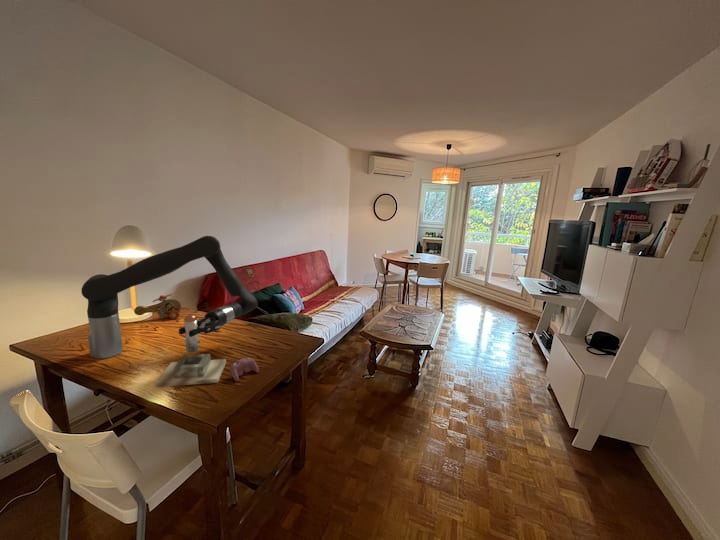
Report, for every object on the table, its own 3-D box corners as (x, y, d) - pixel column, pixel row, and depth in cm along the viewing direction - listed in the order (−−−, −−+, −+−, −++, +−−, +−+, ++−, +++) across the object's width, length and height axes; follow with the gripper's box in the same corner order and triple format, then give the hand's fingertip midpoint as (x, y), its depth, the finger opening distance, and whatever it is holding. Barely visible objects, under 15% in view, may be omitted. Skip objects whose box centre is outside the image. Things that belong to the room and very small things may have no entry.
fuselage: (184, 352, 104) (182, 317, 101) (188, 347, 108) (186, 313, 105) (196, 352, 105) (194, 316, 102) (200, 347, 109) (198, 312, 106)
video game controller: (254, 372, 115) (250, 355, 115) (260, 371, 112) (255, 354, 112) (231, 382, 107) (226, 364, 108) (236, 382, 104) (231, 363, 105)
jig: (155, 387, 99) (154, 372, 98) (171, 365, 113) (170, 352, 111) (217, 382, 104) (217, 369, 103) (226, 362, 117) (225, 350, 116)
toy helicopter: (181, 318, 157) (180, 294, 154) (134, 324, 146) (131, 299, 143) (181, 313, 164) (180, 290, 161) (136, 318, 153) (133, 294, 150)
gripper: (205, 305, 119) (168, 320, 103) (234, 311, 115) (199, 326, 99) (206, 322, 121) (170, 339, 105) (234, 328, 117) (201, 346, 101)
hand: (184, 333), depth 102 cm, fingers closed on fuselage, 4 cm apart
